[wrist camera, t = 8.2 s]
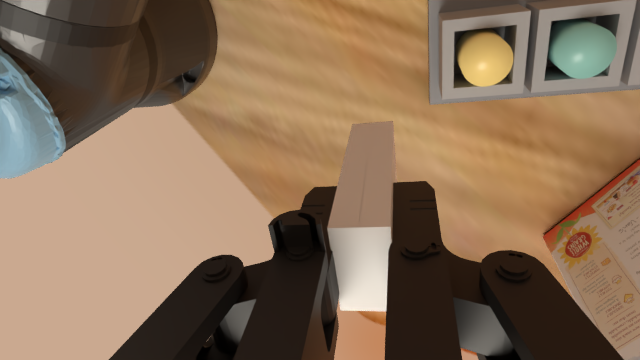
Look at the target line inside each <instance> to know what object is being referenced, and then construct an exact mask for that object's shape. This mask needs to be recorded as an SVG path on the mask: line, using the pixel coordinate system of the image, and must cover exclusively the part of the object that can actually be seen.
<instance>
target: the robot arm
mask: <svg viewBox="0 0 640 360" xmlns="http://www.w3.org/2000/svg"><path fill="white" fill-rule="evenodd" d="M216 49H217V30H216V23H215V19H214V15H213V12H212V9H211V6H210V3H209V1H208V0H0V178H14V177H17V176H21V175H23V174H26V173H28V172H30V171H32V170H34V169H36V168H39V167H41V166H43V165H45V164H47V163H52V162H53V161H55V160H57V159H59V157H61V156H62V154H63V153H64V152H66V151H67V150H68V149H70V148H72V147H73V146H75V145H76V144H78V143H80V142H81V141H83V140H84V139H86V138H87V137H89V136H90V135H92V134H93V133H95V132H97V131H98V130H100V129H101V128H102V127H104V126H106V125H107V124H109V123H111V122H112V121H114V120H115V119H117V118H118V117H120V116H121V115H123V114H125V113H126V112H128V111H129V110H130V109H132V108H136V107H153V106H163V105H167V104H171V103H174V102H176V101H178V100H180V99H182V98H184V97H185V96H187V95H188V94H190V93H191V92H192V91H194V90H195V89H196V88H198V87H199V86H200V85H201V84H202V83H203V81H204V80H205V79H206V77H207V76H208V74H209V72H210V70H211V68H212V66H213V63H214V60H215V55H216ZM268 227H269V231H270V235H271V239H272V243H273V248H274V252H275V253H274V255H273V258H272V259H271V260H269V261H265V262H262V263H258V264H254V265H250V266H246V267H244V266H243V262H242V261H241V260H240V259H239V258H238V257H235V256H232V255H219V256H216V257H212V258H210V259H207V260H206V261H203V262H202V263H201V264H199V266H197V267H196V268H195V269H194V270H193V271H192V272H191V273H190V274H189V275H188V276H187V277H186V278H185V279H184V280H183V281H182V283H181V284H180V285H179V286H178V287H177V288H176V289H175V290H174V291H173V292H172V293H171V294H170V295H169V296H168V297H167V298H166V299H165V301H164V302H163V303H162V304H161V305H160V306H159V307H158V308H157V309H156V310H155V312H153V313H152V314H151V316H149V318H148V319H147V320H146V321H145V322H144V323H143V324H142V325H141V326H140V327H139V328H138V329H137V330H136V332H134V333H133V335H132V336H131V337H130V338H129V339H128V340H127V341H126V342H125V343H124V344H123V345H122V346H121V347H120V349H118V350H117V352H116V353H115V354H114V355H113V356H112V357H111V358H110V359H109V360H334V353H335V347H336V340H337V334H338V327H339V326H338V317H337V304H338V299H339V303H340V309H341V310H346V311H386V337H385V360H462V356H461V348H464V349H467V350H470V351H473V352H476V353H477V356H478V359H479V360H624V359H623V358H622V357H621V355H620V354H619V353H618V352H617V351H616V349H615V348H614V347H613V346H612V345H611V344H610V342H609V341H608V340H607V339H606V338H605V336H604V335H603V334H602V333H601V332H600V331H599V329H598V328H597V327H596V326H595V325H594V323H593V322H592V321H591V320H590V319H589V318H588V316H587V315H586V314H585V313H584V312H583V310H582V309H581V308H580V307H579V306H578V304H577V303H576V302H575V301H574V300H573V299H572V297H571V296H570V295H569V294H568V293H567V291H566V290H565V289H564V288H563V287H562V286H561V284H560V283H559V282H558V281H557V280H556V278H555V277H554V276H553V275H552V274H551V273H550V271H549V270H548V269H547V268H546V267H545V265H544V264H542V263H541V262H540V261H539V260H538V259H536V258H535V257H532V256H530V255H528V254H526V253H523V252H517V251H512V250H507V251H497V252H494V253H491V254H489V255H487V256H486V257H485V258H484V259H482V262H481V263H480V262H475V261H470V260H467V259H463V258H460V257H458V256H456V255H454V254H452V253H451V252H450V251H448V250H447V249H446V247H445V246H444V245H443V242H442V239H441V232H440V225H439V218H438V211H437V204H436V198H435V191H434V189H433V188H432V187H431V186H430V185H429V184H428V183H427V182H426V181H419V182H397V175H396V159H395V143H394V128H393V121H388V122H375V123H362V124H352V128H351V132H350V136H349V140H348V144H347V149H346V153H345V157H344V161H343V165H342V169H341V173H340V177H339V182H338V186H332V187H314V188H313V189H312V190H311V191H310V192H309V193H308V194H307V195H306V196H305V198H304V201H303V203H302V207H301V209H300V210H295V211H289V212H286V213H283V214H281V215H279V216H277V217H276V218H274V219H273V220H272V221H271V223H270V224H269V225H268ZM210 336H211V337H210ZM209 337H210V338H209ZM207 340H208V341H207ZM206 341H207V342H206Z"/></svg>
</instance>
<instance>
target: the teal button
mask: <svg viewBox="0 0 640 360" xmlns="http://www.w3.org/2000/svg"><path fill="white" fill-rule="evenodd" d="M616 51H617V42H616V38H615V36H614V35H613V34H612V32H610V31H609V30H608V29H606V28H603V27H601V26H599V25H597V24H594V23H592V22H590V21H587V20H585V19H582V18H575V19H566V20H560V21H558V22H557V23H555V24H554V25H553V26H552V27H551V28H550V37H549V45H548V53H547V59H548V60H549V61H551V62H552V63H553V64H554V65H556V66H557V67H558V68H559V69H561V70H562V71H563V72H564V73H566V74H567V75H568V76H570V77H573V78H577V79H585V78H590V77H593V76H595V75H597V74H599V73H601V72H602V71H604V70H605V69H606V68H607V67H608V66H609V65H610V64H611V62H612V61H613V59H614V57H615V54H616Z"/></svg>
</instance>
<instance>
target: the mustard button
mask: <svg viewBox="0 0 640 360" xmlns="http://www.w3.org/2000/svg"><path fill="white" fill-rule="evenodd" d="M455 57H456V60H457V62H458V65H459V67H460V69H461V71H462V73H463V75H464V77H465V78H466V80H467V81H469V82H470V83H471V84H473V85H476V86H481V87H486V86H491V85H494V84H496V83H498V82H500V81H501V80H503V79H504V78H505V77H506V76H507V75H508V73H509V72H510V70H511V68H512V65H513V52H512V49H511V47H510V46H509V45H508V44H507V43H506V42H505V41H504V40H503V39H502V38H501V37H500V36H499V35H498V34H497V33H496V32H495V31H494V30H492V29H490V28H482V29H473V30H469V31H467V32H466V33H464V34H463V35H462V36H461V38H460V39H459V40H458V42H457V45H456V48H455Z"/></svg>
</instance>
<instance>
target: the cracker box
mask: <svg viewBox="0 0 640 360" xmlns="http://www.w3.org/2000/svg"><path fill="white" fill-rule="evenodd" d="M543 238H544V240H545V243H546V245H547V247H548V249H549V250H550V252H551V255H552V257H553V259H554V261H555V263H556V264H557V266H558V268H559V270H560V272H561V274H562V276H563V278H564V280H565V283H566V285H567V287H568V289H569V291H570V293H571V295H572V297H573V299H574V300H575V302H576V303H577V304H578V306H579V307H580V308H581V309H582V310H583V312H584V313H585V314H586V315H587V316H588V318H589V319H590V320H591V321H592V322H593V323H594V325H595V326H596V327H597V328H598V329H599V331H600V332H601V333H602V334H603V335H604V336H605V338H606V339H607V340H608V341H609V342H610V344H611V345H612V346H613V347H614V348H615V349H616V351H617V352H618V353H619V354H620V355H621V357H622V358H623V359H624V360H640V159H639V160H638V161H637V162H635V163H634V164H633V165H632V166H630V167H629V168H628V169H627V170H625V171H624V172H623V173H622V174H620V175H619V176H618V177H617V178H615V179H614V180H613V181H612V182H610V183H609V184H608V185H607V186H605V187H604V188H603V189H602V190H601V191H599V192H598V193H597V194H595V195H594V196H593V197H592V198H590V199H589V200H588V201H587V202H585V203H584V204H583V205H582V206H580V207H579V208H578V209H577V210H575V211H574V212H573V213H572V214H570V215H569V216H568V217H567V218H565V219H564V220H563V221H562V222H560V223H559V224H558V225H557V226H555V227H554V228H553V229H552V230H550V231H549V232H548V233H546V234H545V235H544V236H543Z"/></svg>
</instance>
